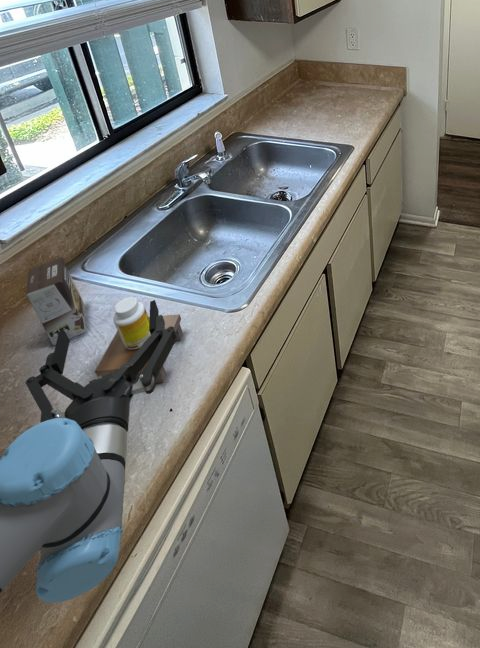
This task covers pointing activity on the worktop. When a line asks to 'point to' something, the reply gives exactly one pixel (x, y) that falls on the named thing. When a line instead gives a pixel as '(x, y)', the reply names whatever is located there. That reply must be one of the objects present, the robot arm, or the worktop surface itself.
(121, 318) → the supplement bottle
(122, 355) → the stool
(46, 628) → the worktop surface
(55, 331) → the coffee box
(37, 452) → the robot arm
